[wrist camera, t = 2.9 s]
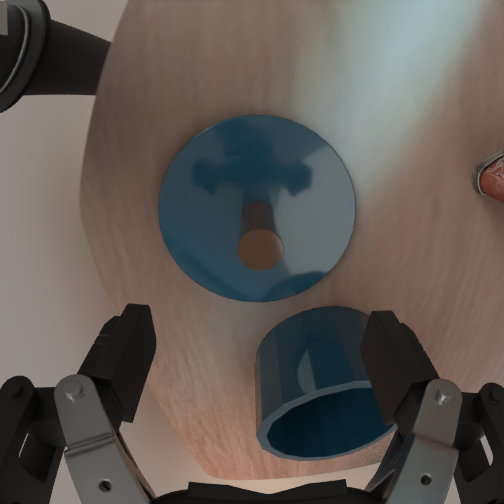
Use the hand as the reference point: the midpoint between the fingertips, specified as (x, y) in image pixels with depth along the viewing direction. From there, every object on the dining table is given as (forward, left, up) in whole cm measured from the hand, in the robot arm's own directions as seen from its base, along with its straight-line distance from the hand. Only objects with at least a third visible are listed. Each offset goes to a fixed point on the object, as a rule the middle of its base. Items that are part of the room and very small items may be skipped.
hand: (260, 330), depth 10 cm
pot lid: (0, 0, -11) cm, 11 cm away
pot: (+13, -9, -12) cm, 20 cm away
